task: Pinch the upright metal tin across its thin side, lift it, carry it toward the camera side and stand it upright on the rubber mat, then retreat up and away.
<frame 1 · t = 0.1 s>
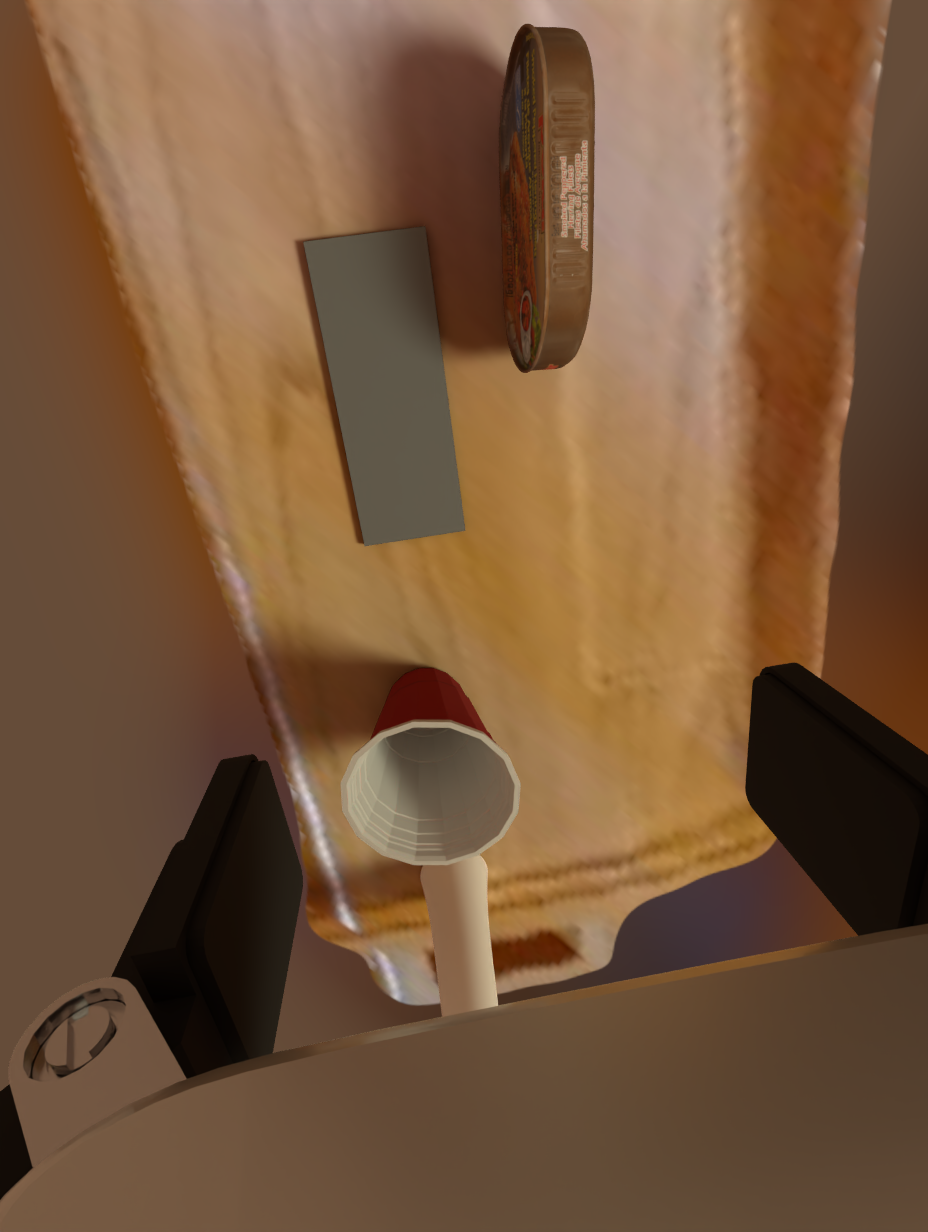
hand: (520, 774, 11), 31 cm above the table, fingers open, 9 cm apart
tin: (526, 236, 35), on the table
cosmetic bottle: (453, 870, 53), on the table
plastic cup: (422, 698, 46), on the table
mat: (392, 400, 37), on the table
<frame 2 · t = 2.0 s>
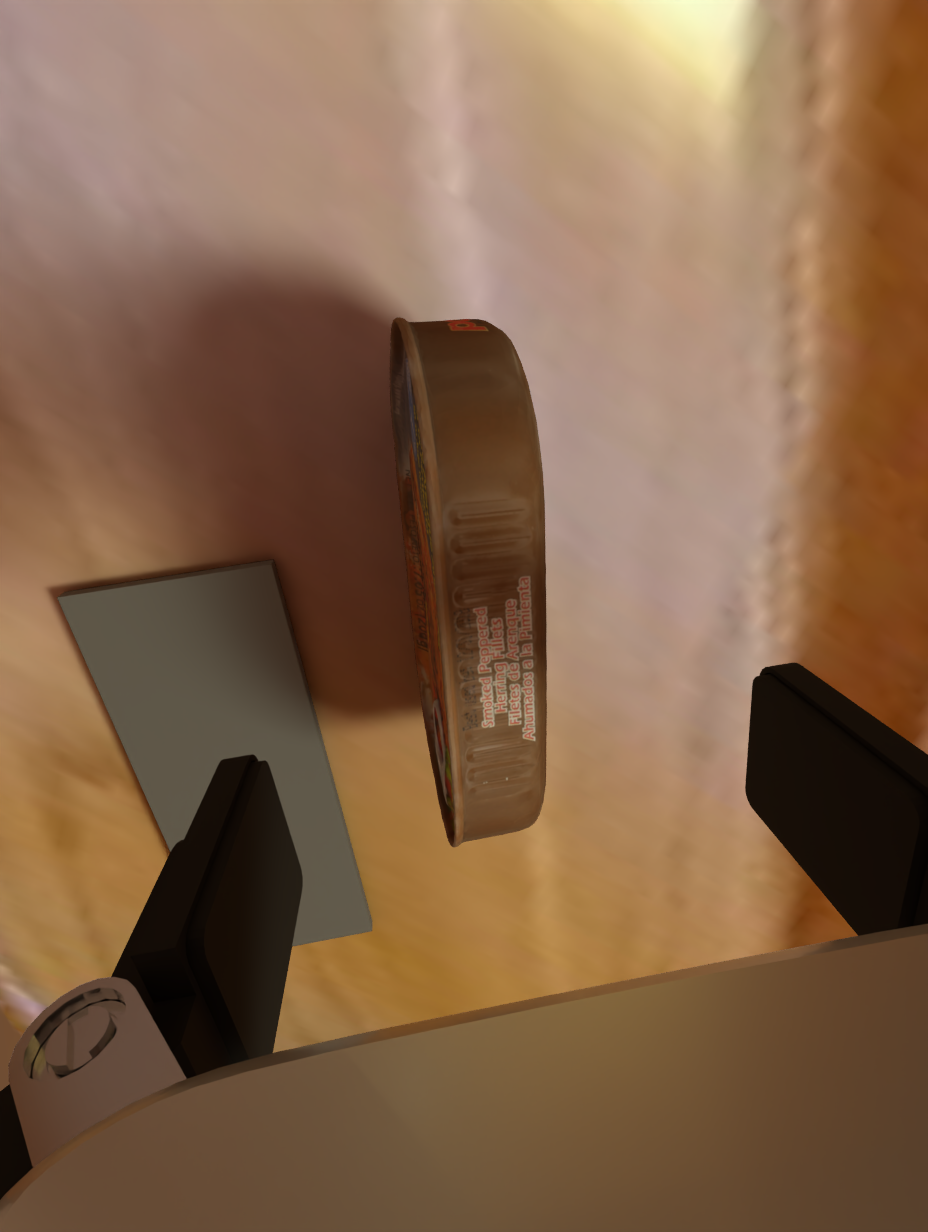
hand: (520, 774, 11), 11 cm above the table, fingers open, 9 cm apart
tin: (449, 557, 21), on the table
mat: (243, 783, 24), on the table
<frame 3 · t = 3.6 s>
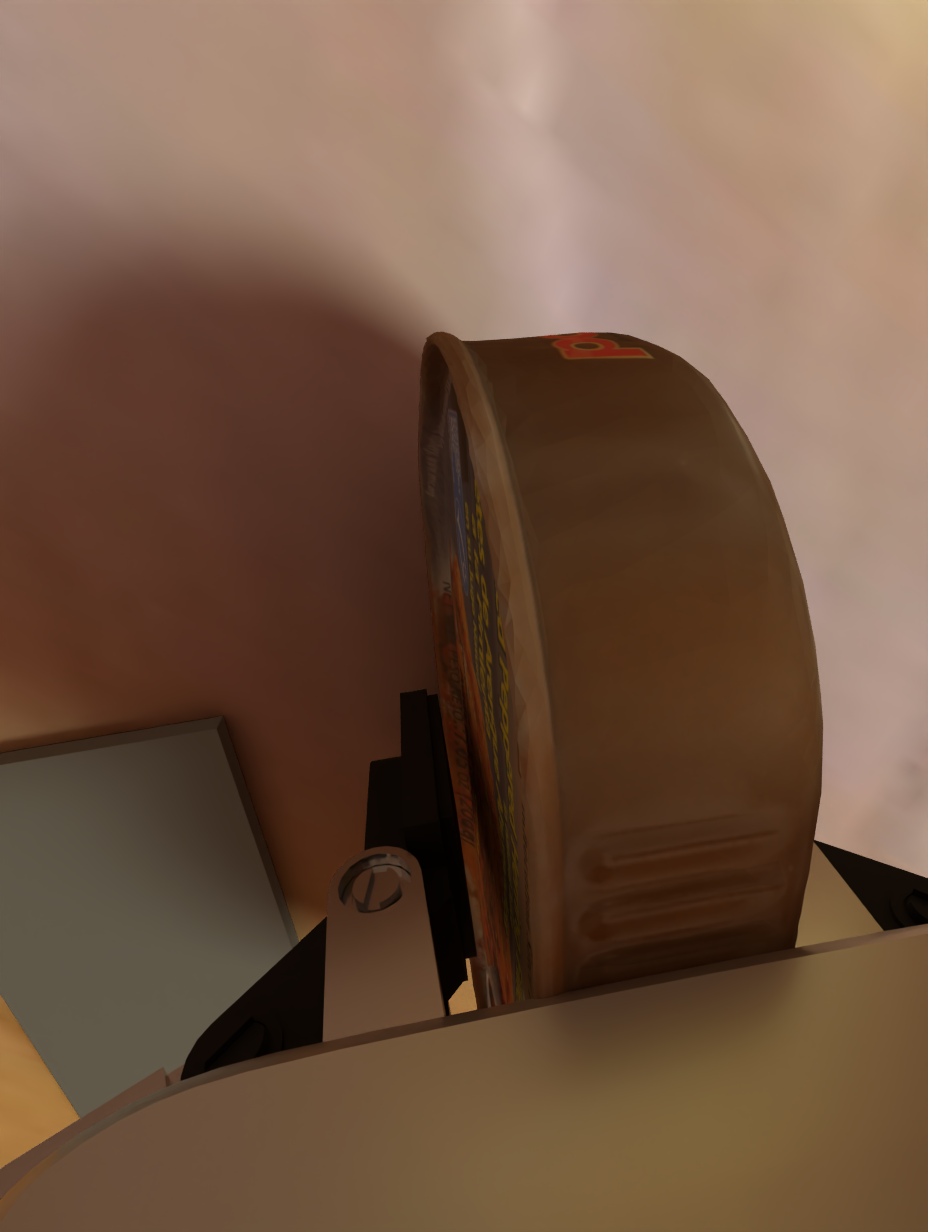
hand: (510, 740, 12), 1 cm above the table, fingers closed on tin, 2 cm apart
tin: (508, 703, 14), on the table, touching gripper
mat: (187, 1019, 16), on the table
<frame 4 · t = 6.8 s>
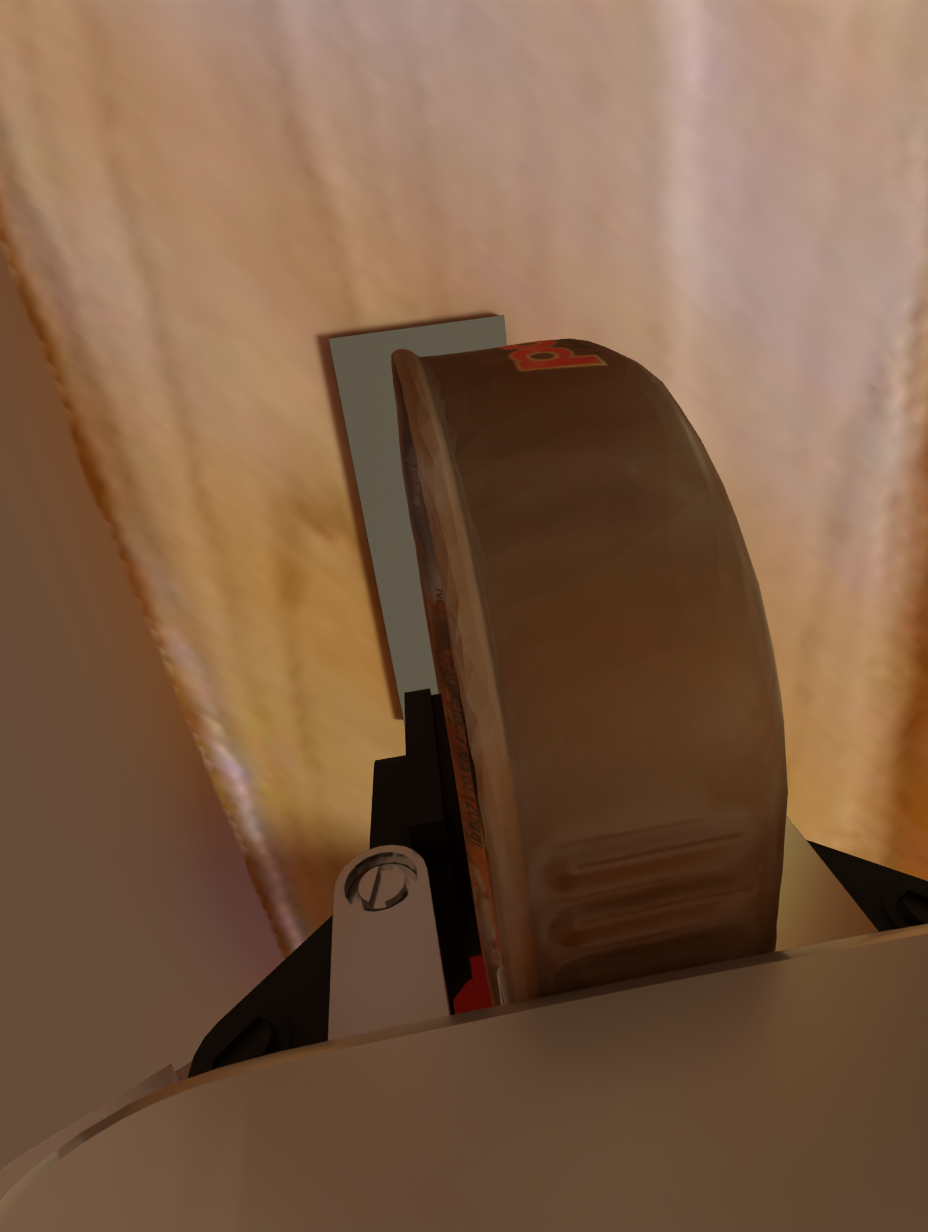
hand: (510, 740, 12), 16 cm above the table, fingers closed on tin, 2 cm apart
tin: (510, 705, 14), point 15 cm above the table, touching gripper
plastic cup: (472, 894, 36), on the table
mat: (447, 542, 27), on the table
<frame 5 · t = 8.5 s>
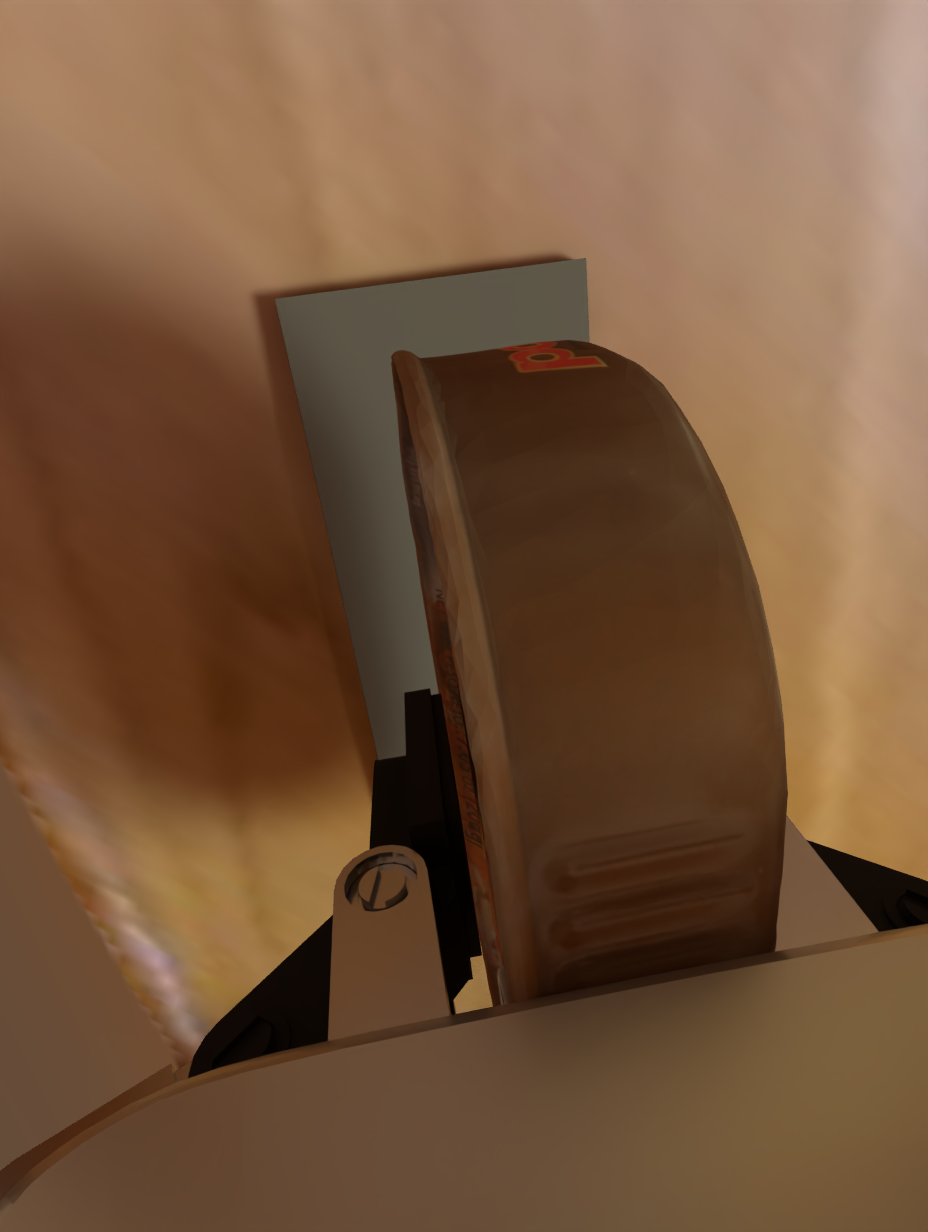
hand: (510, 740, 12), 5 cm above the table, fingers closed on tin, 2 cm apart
tin: (510, 705, 14), point 4 cm above the table, touching gripper
mat: (477, 633, 17), on the table
when the fingers open (2 cm above the table, at t = 9.8 s): tin stays where it is, resting on mat.
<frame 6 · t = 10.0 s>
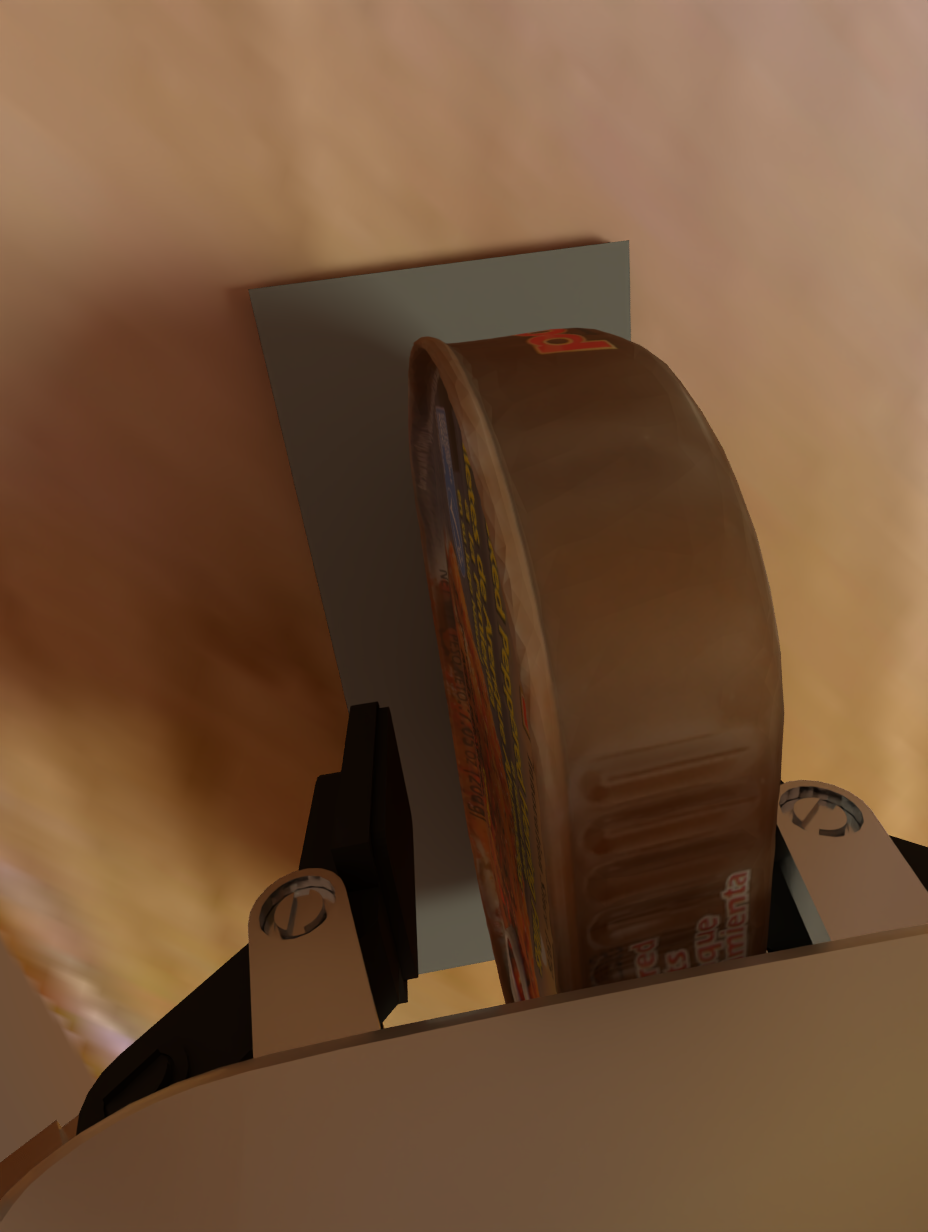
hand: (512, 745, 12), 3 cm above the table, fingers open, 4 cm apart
tin: (509, 682, 14), resting on mat
mat: (491, 683, 15), on the table
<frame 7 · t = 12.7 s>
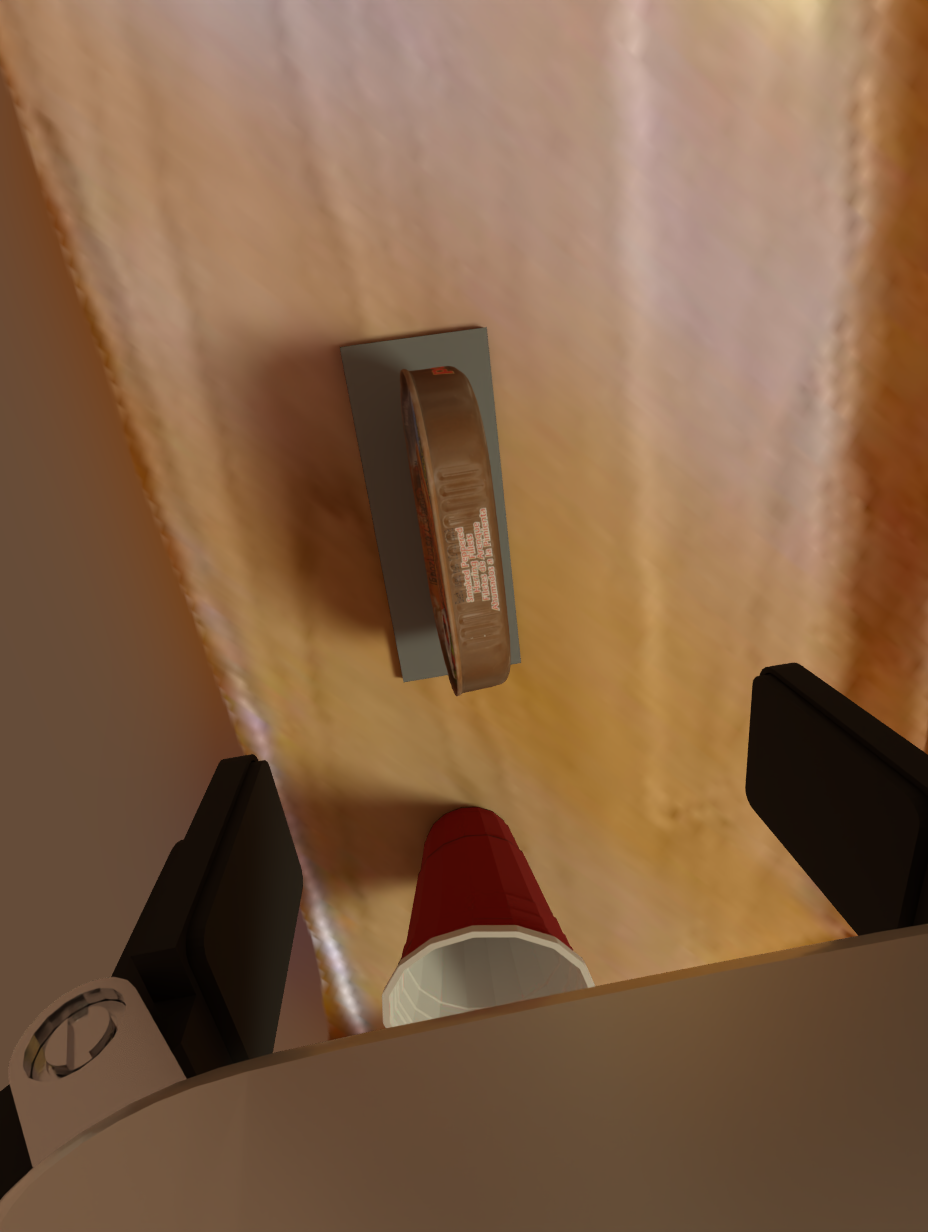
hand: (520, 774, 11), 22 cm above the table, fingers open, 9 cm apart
tin: (447, 519, 31), resting on mat
plastic cup: (464, 838, 40), on the table
mat: (440, 521, 32), on the table
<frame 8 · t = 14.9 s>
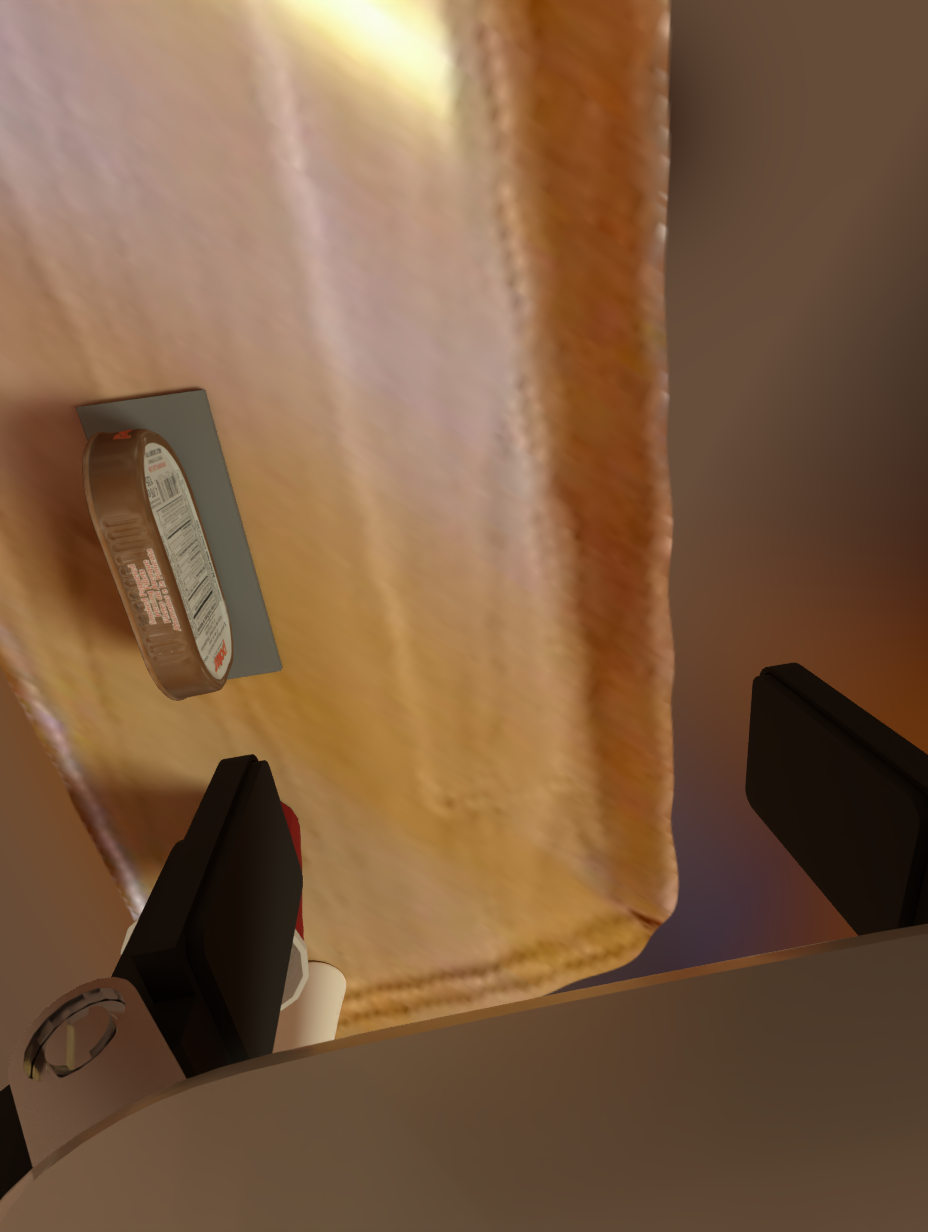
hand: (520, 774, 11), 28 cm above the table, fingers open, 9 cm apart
tin: (195, 548, 37), resting on mat
cosmetic bottle: (312, 982, 52), on the table
plastic cup: (259, 824, 45), on the table
mat: (191, 549, 37), on the table
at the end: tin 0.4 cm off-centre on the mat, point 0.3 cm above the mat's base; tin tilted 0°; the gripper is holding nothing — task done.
